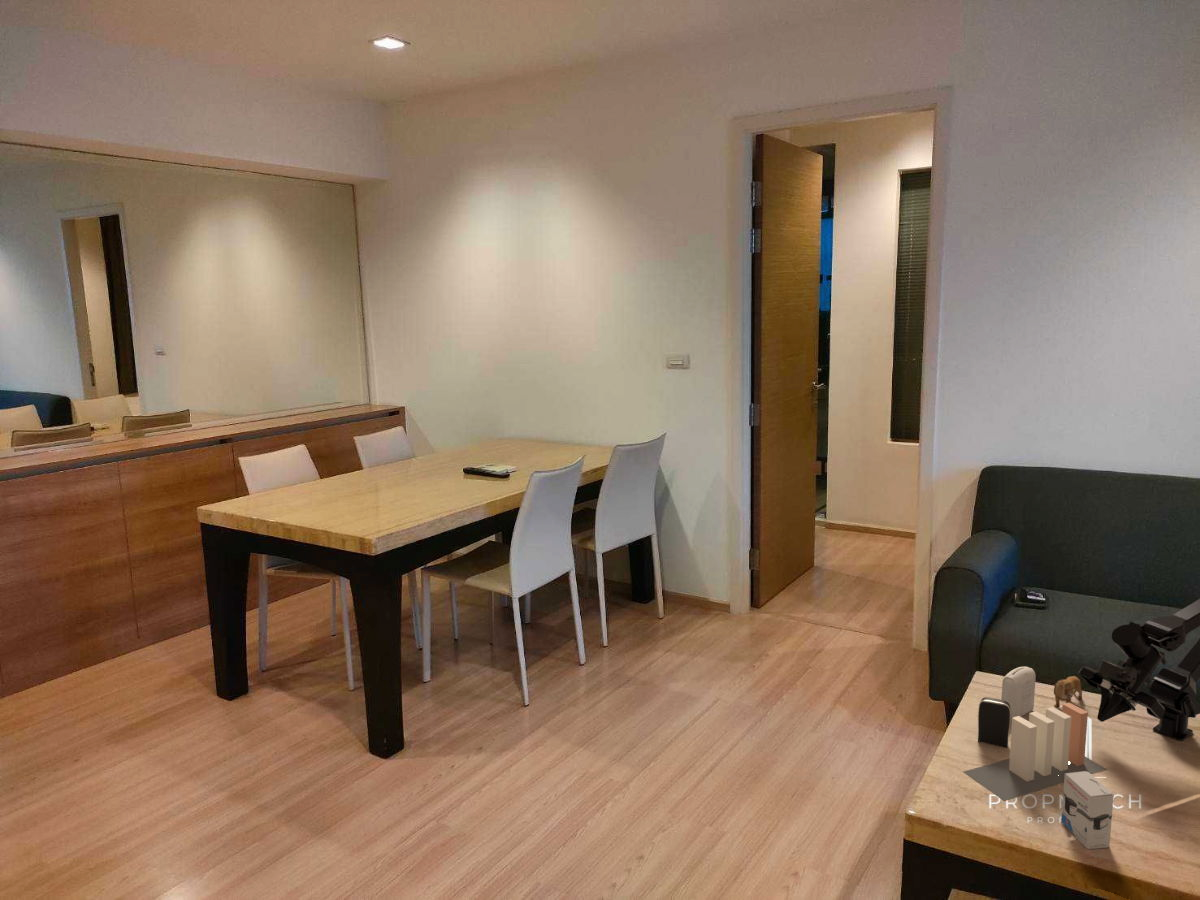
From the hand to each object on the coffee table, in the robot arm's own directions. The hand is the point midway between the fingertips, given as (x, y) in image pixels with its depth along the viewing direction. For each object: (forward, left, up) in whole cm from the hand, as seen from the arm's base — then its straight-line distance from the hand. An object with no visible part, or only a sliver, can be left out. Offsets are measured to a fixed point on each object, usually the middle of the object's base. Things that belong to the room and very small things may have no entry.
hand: (1099, 720), depth 194 cm
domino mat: (+18, -5, -9) cm, 21 cm away
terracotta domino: (+8, -2, -8) cm, 11 cm away
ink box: (+32, +12, -9) cm, 35 cm away
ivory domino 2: (+17, -5, -8) cm, 20 cm away
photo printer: (-4, -22, -9) cm, 24 cm away
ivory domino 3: (+13, -3, -8) cm, 15 cm away
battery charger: (+14, -18, -9) cm, 24 cm away
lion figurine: (-18, -16, -9) cm, 26 cm away
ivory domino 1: (+22, -6, -8) cm, 25 cm away
